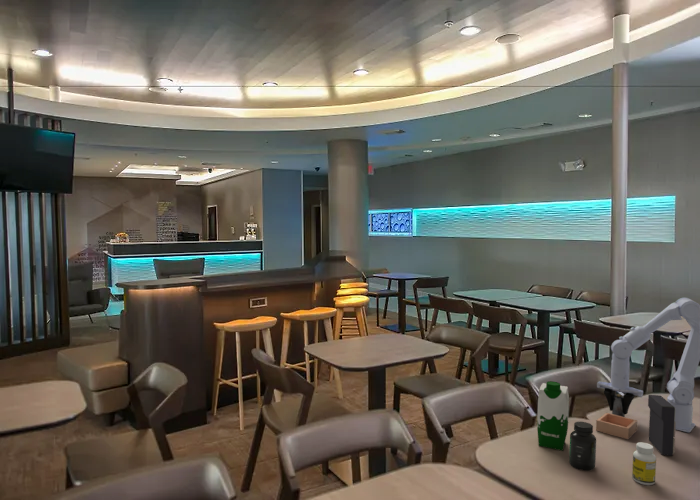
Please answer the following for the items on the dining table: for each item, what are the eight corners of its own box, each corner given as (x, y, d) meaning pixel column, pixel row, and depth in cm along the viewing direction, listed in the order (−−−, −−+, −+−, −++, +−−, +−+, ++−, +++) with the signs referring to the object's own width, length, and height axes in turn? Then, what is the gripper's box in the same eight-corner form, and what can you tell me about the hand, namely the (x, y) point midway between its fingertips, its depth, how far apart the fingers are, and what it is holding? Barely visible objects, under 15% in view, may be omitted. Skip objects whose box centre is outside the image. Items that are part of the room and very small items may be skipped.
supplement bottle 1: (564, 464, 147) (565, 423, 146) (576, 457, 151) (578, 418, 150) (587, 473, 141) (589, 431, 141) (599, 466, 145) (601, 425, 145)
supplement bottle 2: (627, 476, 140) (629, 441, 140) (646, 475, 141) (647, 440, 140) (640, 486, 135) (642, 450, 134) (659, 485, 135) (661, 449, 135)
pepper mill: (614, 415, 185) (615, 392, 184) (626, 418, 182) (627, 394, 181) (610, 418, 182) (611, 394, 181) (622, 421, 179) (623, 397, 178)
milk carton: (535, 446, 158) (537, 383, 157) (539, 435, 166) (541, 375, 165) (565, 452, 154) (567, 387, 153) (568, 441, 162) (570, 379, 161)
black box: (675, 456, 152) (678, 407, 151) (659, 455, 153) (662, 406, 152) (661, 441, 163) (663, 395, 162) (646, 440, 164) (648, 394, 163)
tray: (605, 422, 178) (606, 412, 178) (637, 430, 171) (637, 420, 171) (596, 430, 171) (596, 420, 171) (628, 439, 164) (628, 428, 164)
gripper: (594, 372, 183) (593, 409, 184) (639, 381, 173) (637, 420, 174) (601, 368, 188) (600, 404, 189) (645, 376, 178) (643, 415, 179)
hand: (618, 411), depth 182 cm, fingers closed on pepper mill, 4 cm apart
